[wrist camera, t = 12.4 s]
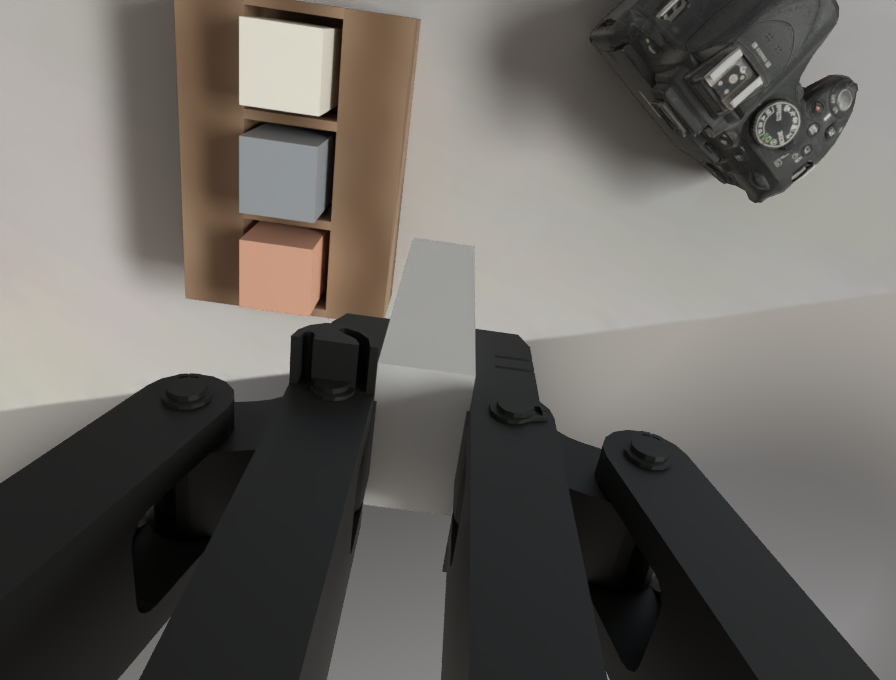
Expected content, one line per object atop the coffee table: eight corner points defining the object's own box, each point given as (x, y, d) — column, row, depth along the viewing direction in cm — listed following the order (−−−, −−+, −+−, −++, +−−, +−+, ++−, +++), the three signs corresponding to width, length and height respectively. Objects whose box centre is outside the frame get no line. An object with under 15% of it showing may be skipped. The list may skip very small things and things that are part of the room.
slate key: (265, 191, 40) (239, 212, 35) (266, 122, 38) (239, 135, 33) (331, 200, 40) (313, 223, 35) (336, 132, 38) (317, 147, 34)
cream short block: (267, 95, 37) (239, 104, 33) (268, 17, 36) (238, 16, 31) (337, 105, 37) (319, 116, 33) (342, 28, 36) (323, 28, 31)
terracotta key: (264, 276, 42) (239, 306, 38) (265, 215, 40) (239, 239, 36) (326, 285, 42) (309, 316, 38) (330, 225, 40) (312, 249, 36)
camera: (846, 30, 37) (966, 31, 28) (745, 192, 41) (821, 239, 32) (637, -77, 35) (694, -112, 26) (553, 104, 39) (577, 127, 30)
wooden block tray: (214, 270, 44) (185, 298, 40) (209, -13, 37) (173, -18, 33) (391, 295, 45) (382, 325, 40) (420, 19, 38) (413, 18, 33)
